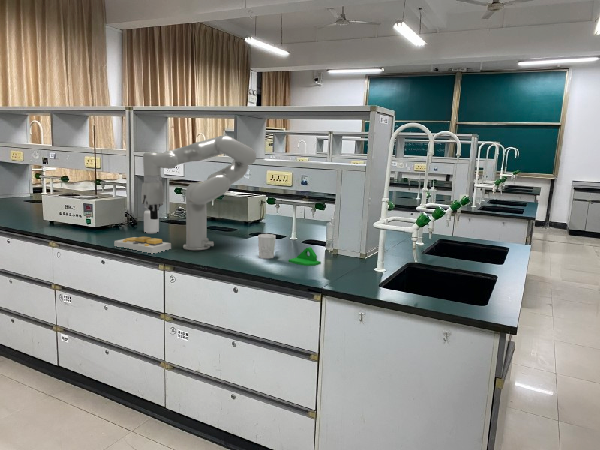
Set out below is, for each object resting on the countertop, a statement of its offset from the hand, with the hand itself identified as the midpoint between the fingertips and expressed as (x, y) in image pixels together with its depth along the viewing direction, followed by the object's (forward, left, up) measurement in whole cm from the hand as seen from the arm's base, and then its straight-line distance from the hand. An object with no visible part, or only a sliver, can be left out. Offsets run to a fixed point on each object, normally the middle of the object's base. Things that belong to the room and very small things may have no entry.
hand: (154, 219), depth 208 cm
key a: (0, 0, -13) cm, 13 cm away
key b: (+7, -1, -13) cm, 14 cm away
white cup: (-53, -7, -15) cm, 55 cm away
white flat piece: (+7, -1, -15) cm, 16 cm away
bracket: (-72, -4, -15) cm, 73 cm away
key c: (+14, -3, -14) cm, 20 cm away
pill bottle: (+24, -36, -15) cm, 46 cm away
